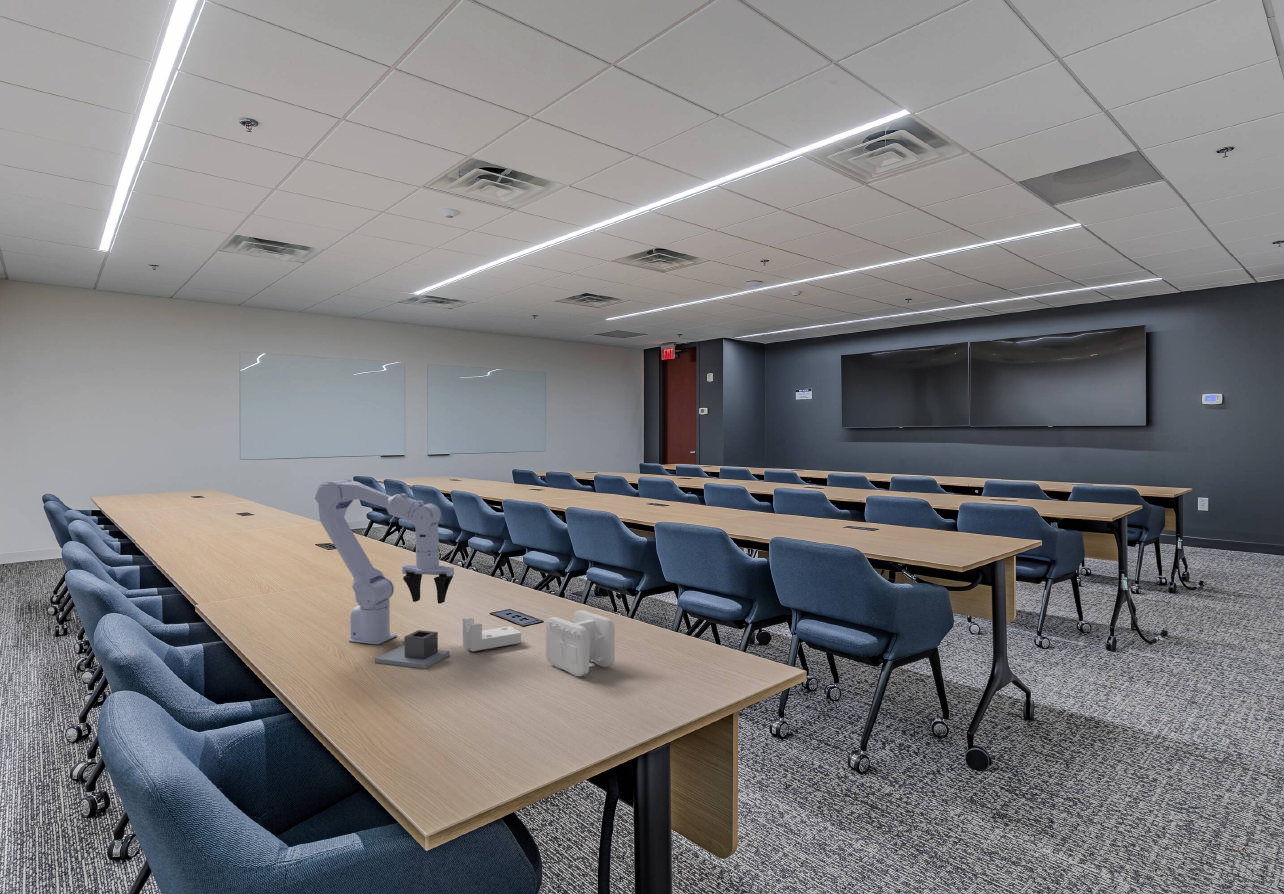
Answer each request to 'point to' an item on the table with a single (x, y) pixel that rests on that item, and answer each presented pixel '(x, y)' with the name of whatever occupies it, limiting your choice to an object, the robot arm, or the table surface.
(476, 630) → the bracket
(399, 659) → the plate with peg
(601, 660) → the cable organizer
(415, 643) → the dark grey hollow block
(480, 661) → the table surface
